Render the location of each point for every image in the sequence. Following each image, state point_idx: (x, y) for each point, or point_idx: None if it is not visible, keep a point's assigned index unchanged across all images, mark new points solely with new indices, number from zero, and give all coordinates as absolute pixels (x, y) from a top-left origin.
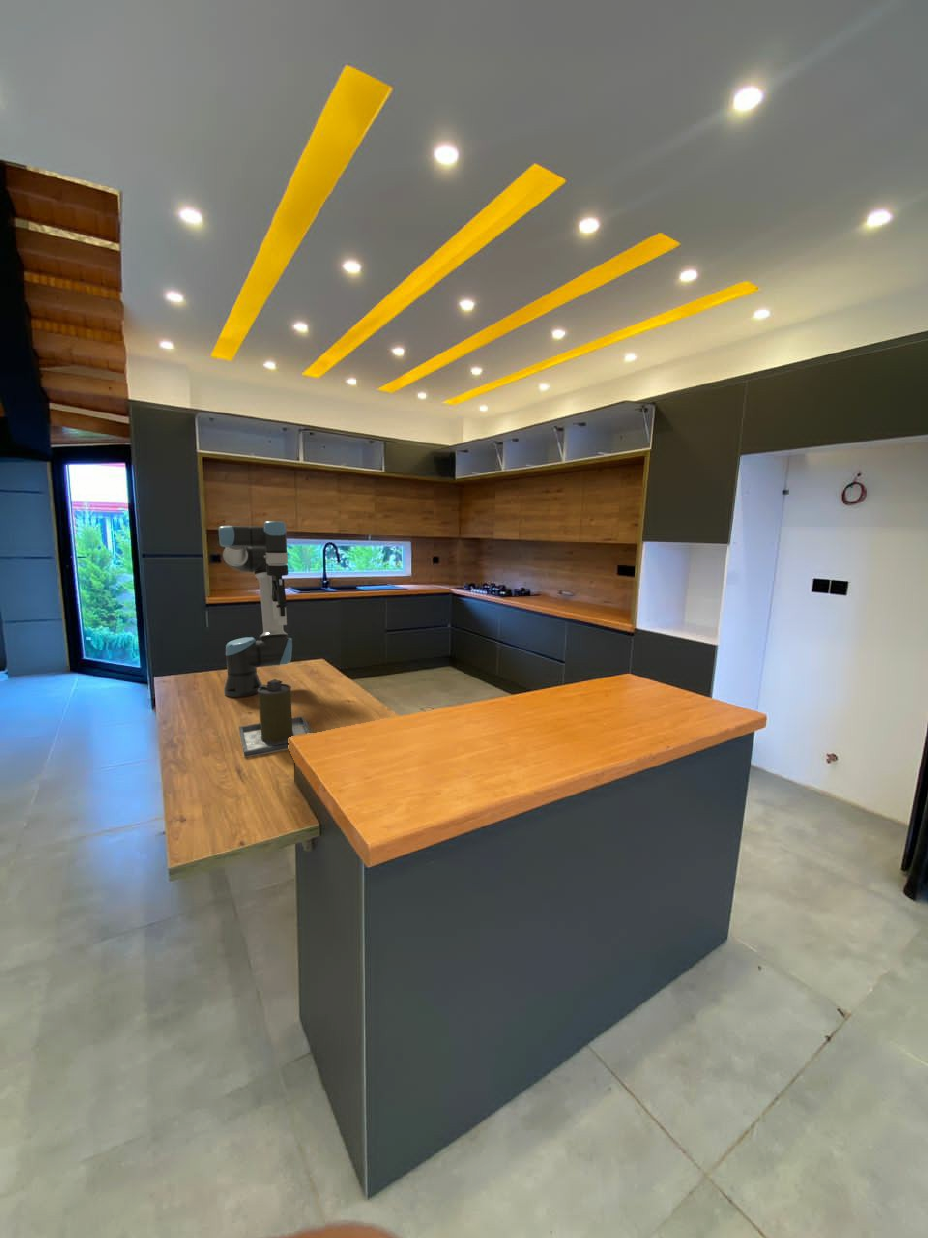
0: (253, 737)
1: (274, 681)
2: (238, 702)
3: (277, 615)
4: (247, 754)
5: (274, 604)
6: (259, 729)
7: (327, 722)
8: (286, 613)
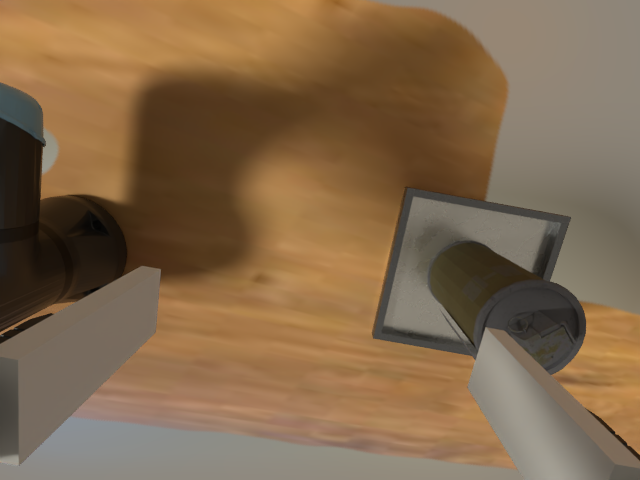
0: (432, 319)
1: (557, 348)
2: (163, 282)
3: (143, 314)
4: None
5: (51, 417)
6: (394, 295)
7: (455, 136)
8: (574, 398)
